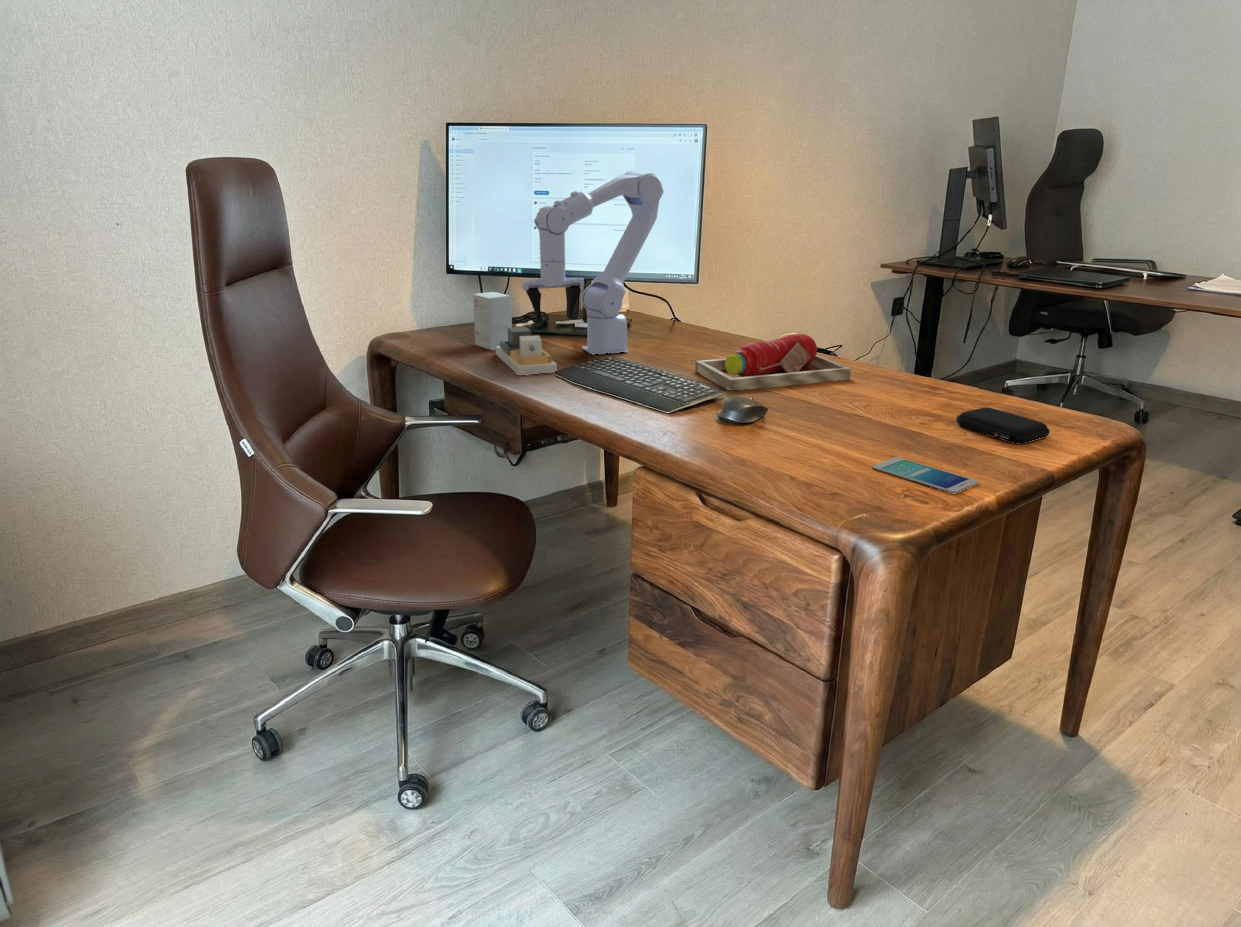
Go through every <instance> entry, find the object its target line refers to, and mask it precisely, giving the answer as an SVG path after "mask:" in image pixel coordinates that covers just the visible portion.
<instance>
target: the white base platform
mask: <svg viewBox="0 0 1241 927" xmlns="http://www.w3.org/2000/svg"><path fill="white" fill-rule="evenodd" d="M495 355H496V356H497V357H498V358H499V359H500V360H501V361H502V362H503V363H504V362H505V363H506V364H505V363H504V364H505V365H506V366H507V365H508V366H509V367H510V368H511V369H512V370H513V371H514V372H515V373H516V374H518V375H524V374H535V373H544V372H552V371H557V372H558V364H557V363H556V362H555V361H554V360H553V356H552V355H551V354H549V352H547V351H546V350H545V349H543V348H542V356H537V357H524V358H521V357H520V348H510V347H509V346H508V341H500V346H496V350H495ZM508 366H507V367H508ZM509 367H508V368H509ZM510 368H509V369H510ZM511 369H510V370H511ZM512 370H511V371H512ZM513 371H512V372H513ZM515 373H514V374H515ZM516 374H515V375H516Z"/></svg>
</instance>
